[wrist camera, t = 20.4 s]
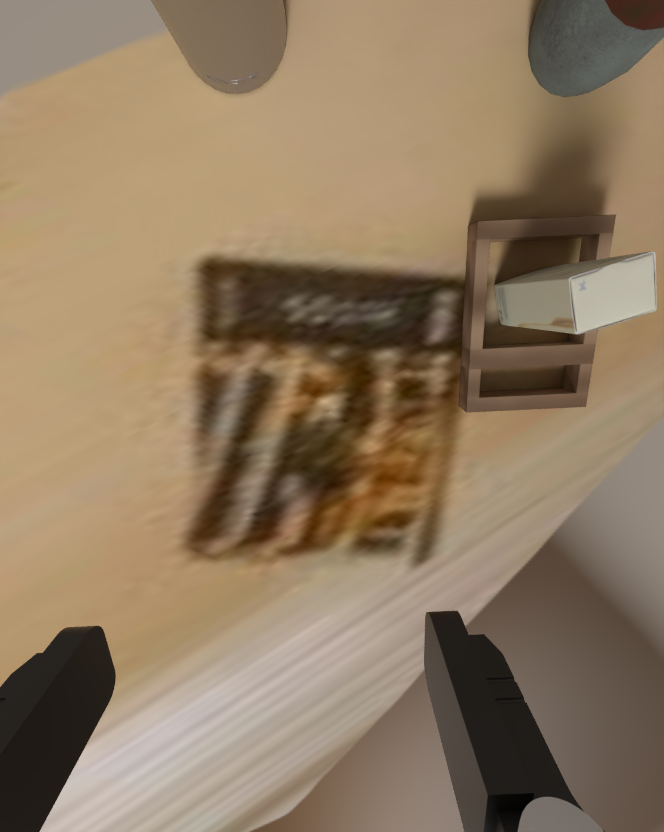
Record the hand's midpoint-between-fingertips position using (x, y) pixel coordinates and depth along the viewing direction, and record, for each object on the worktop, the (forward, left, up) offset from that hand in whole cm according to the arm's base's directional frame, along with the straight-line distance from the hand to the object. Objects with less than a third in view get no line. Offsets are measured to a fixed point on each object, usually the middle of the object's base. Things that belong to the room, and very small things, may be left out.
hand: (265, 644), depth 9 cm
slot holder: (-5, +22, -33) cm, 40 cm away
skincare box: (-7, +22, -33) cm, 41 cm away
